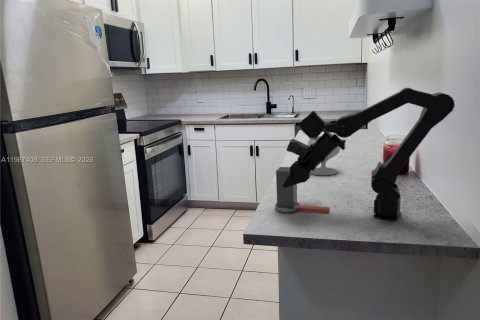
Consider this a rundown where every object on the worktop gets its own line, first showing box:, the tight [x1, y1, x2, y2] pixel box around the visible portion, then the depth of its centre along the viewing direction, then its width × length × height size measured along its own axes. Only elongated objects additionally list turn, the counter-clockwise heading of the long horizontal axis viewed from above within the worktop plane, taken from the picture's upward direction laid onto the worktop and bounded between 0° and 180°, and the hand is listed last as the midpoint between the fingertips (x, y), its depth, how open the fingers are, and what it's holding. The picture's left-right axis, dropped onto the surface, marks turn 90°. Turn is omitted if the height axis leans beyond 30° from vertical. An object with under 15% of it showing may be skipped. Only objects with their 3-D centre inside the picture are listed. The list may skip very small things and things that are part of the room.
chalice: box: [306, 135, 341, 176], centre depth 158 cm, size 14×14×15 cm
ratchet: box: [274, 201, 331, 215], centre depth 117 cm, size 18×8×4 cm, turn 70°
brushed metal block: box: [275, 166, 298, 208], centre depth 118 cm, size 5×5×12 cm
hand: (286, 182), depth 117 cm, fingers open, 9 cm apart
